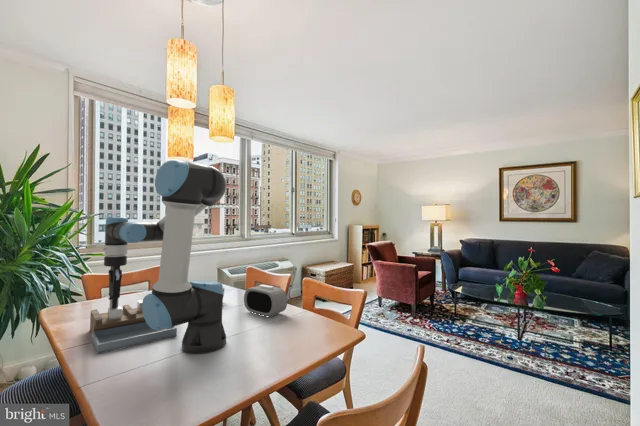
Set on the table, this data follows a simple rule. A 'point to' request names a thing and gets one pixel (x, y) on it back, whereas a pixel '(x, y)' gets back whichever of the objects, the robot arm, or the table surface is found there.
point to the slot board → (127, 318)
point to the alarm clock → (265, 300)
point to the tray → (128, 336)
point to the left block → (114, 313)
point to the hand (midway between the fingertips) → (113, 314)
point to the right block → (139, 306)
